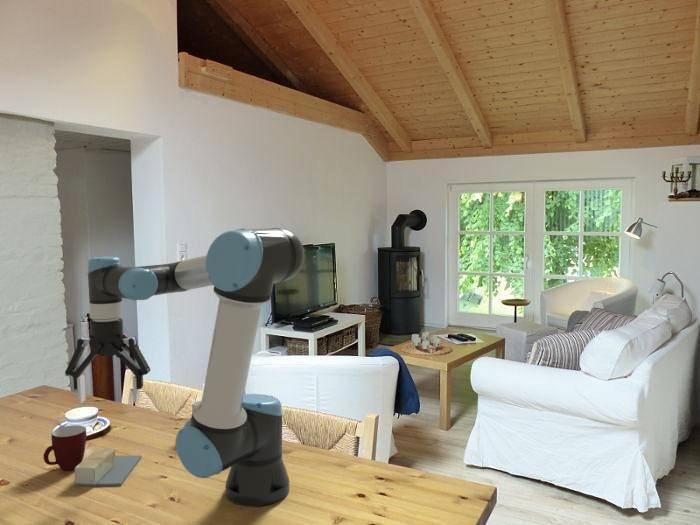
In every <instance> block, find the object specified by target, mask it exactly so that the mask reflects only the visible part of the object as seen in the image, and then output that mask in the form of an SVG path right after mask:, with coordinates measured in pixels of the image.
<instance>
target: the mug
mask: <svg viewBox="0 0 700 525" xmlns="http://www.w3.org/2000/svg"><path fill="white" fill-rule="evenodd" d="M86 444H87V428H86V427H85V426H84V425H80V424H79V425H77V424H73V425H66V426H65V425H64V426H62V427H58V428H56V429H54V430H52V431H51V445H49V446H48V447H47V448H46V449H45V450H44V453H43V461H44V463H45V464H46V465H49V466H56V465H57V466H58V467H59V468H60V469H61V471H63V472H73V471H75V467H76V466H78V465H79V464H80V463H81V462H82V461H83V460H84V457H85V451H86ZM52 451H53V455H54V458H55V460H54V461H50V458H49V455H50V453H51V452H52Z"/></svg>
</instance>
